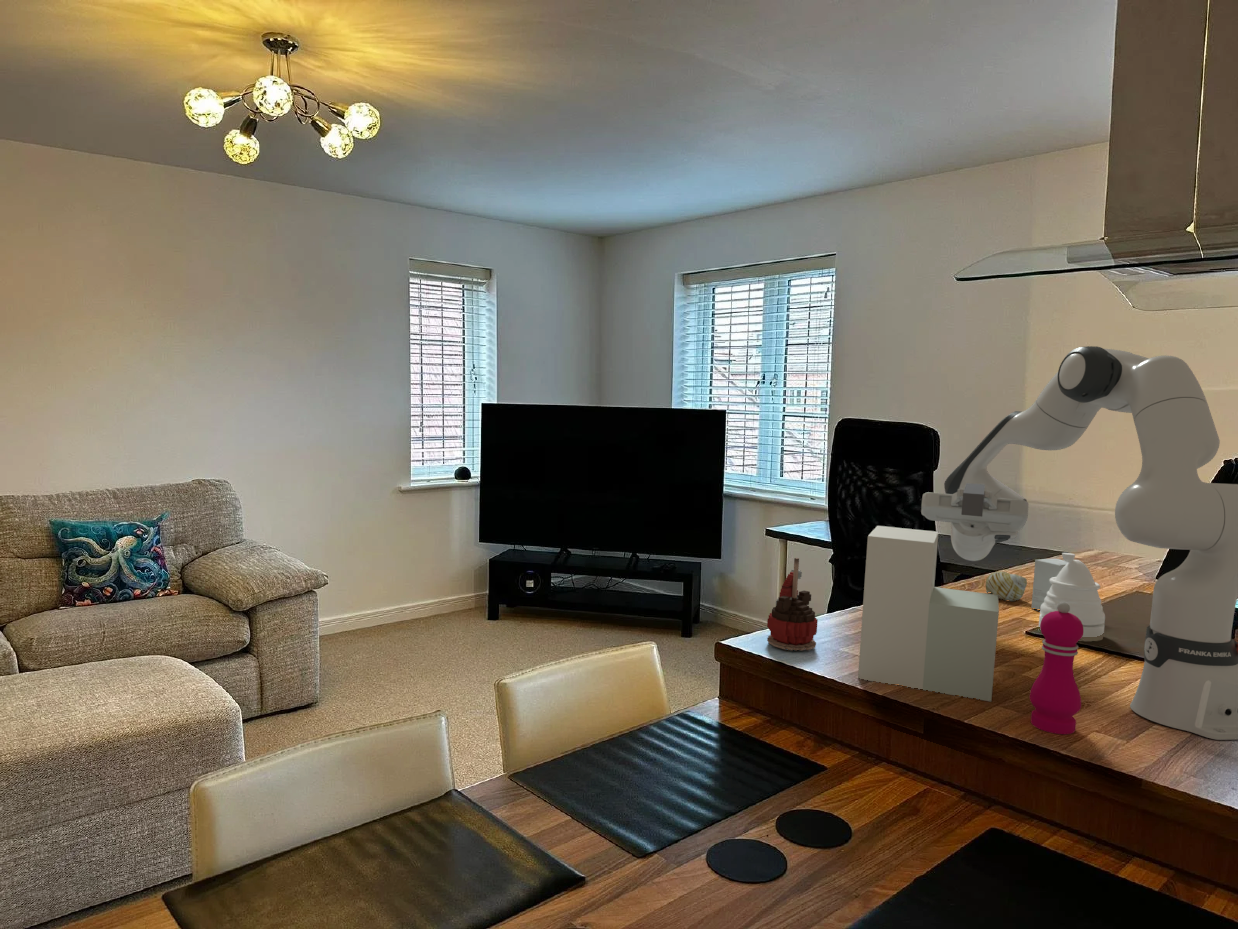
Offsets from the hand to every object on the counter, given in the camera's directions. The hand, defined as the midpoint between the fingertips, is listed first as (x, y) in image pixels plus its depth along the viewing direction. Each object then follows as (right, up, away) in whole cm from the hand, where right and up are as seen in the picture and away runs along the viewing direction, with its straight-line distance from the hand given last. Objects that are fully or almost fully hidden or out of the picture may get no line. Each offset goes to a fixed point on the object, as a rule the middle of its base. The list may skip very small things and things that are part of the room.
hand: (974, 493), depth 169 cm
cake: (-36, -31, +2) cm, 48 cm away
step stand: (-15, -33, -15) cm, 39 cm away
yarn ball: (+30, -29, +52) cm, 67 cm away
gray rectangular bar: (-3, -3, -5) cm, 7 cm away
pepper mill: (-3, -36, -35) cm, 50 cm away
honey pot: (+30, -32, +21) cm, 49 cm away
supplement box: (+36, -31, +40) cm, 62 cm away
